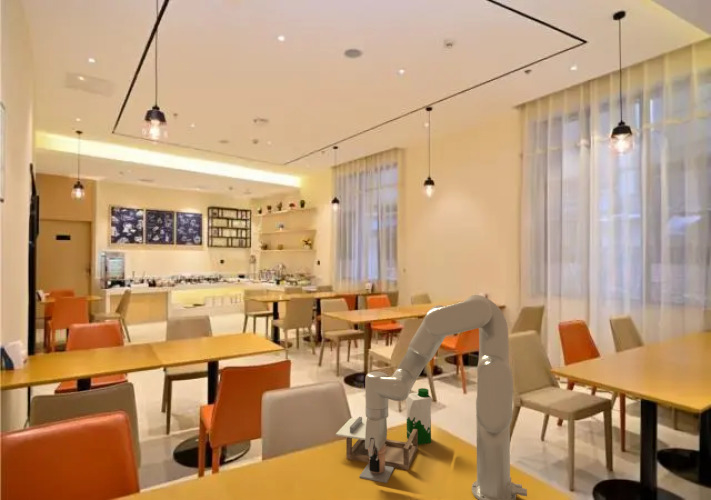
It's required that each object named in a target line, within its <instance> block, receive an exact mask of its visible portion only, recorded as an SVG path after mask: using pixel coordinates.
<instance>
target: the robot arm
mask: <svg viewBox="0 0 711 500" xmlns="http://www.w3.org/2000/svg"><path fill="white" fill-rule="evenodd" d="M507 323H508V322H507V319H506V318H505V315H504V313H503V311H502V309H500V307H499V306H498V305H497V304H496V303H495V302H493V301H492V300H491V299H489V298H488V297H486V296H483V295H481V294H473V295H471V296H468V297H467V298H466V299H465V300H463V301H459V302H457V303H453V304H448V305H442V304H438V305H434V306H432V307H431V308H430V309H429V310H427V312H426V314H425V316H424V318H423V319H422V321H421V324H420V325H419V327H418V328H417V330H416V332H415V334H414V335H413V337H412V338H411V340H410V342H409V343H408V347H407V350H406V352H405V354H404V356H403V358H402V360H401V361H400V363H399V364H398V367H397V368H396V370H395V371H394V373H393V374H392V375H391V376H388V375H387V373H385V372H382V371H370V372H368V373H366V375H365V381H364V384H365V388H364V389H365V392H364V393H365V417H366V420H367V421H366V432H365V449H368V448H369V453H368V455H369V459H370V471H372V472H377V473H379V471H380V459H378V458H379V450H380V449H381V448H382V446H383V445H385V444H384V443H385V442H386V439H388V423H387V420H388V419H387V418H389V400H392V401H396V402H402V401H406V398H407V397H408V395H409V394H411V391H412V389H413V386H414V385H415V383H416V381H417V380H418V378H419V376H420V375H421V373H422V371H423V370H424V368H425V367H426V365H427V364H428V363H429V362H430V361H432V359H433V358H434V357H435V355H436V353H437V352H438V350H439V348H440V347H441V345H442V343H443V342H444V340H445V339H446V337H447V336H451V335H457V334H459V333H460V334H461V333H464V332H468V331H472V330H475V329H478V344H479V345H478V347H479V349H478V362H477V367H476V373H477V375H476V378H477V380H476V381H477V382H476V385H477V386H476V398H475V413H476V414H475V419H476V421H475V422H476V480H475V481H474V482H473V483H472V484H471V492H472V494H473V496H474V497H475V498H476V499H477V500H516V499H517V495H520V496H523V497H528V491H527V490H528V489H527V488H524V487H523V485H522V484H520V483H514V482H513V481H512V477H511V453H510V452H511V451H510V450H511V447H510V446H511V443H510V442H511V439H510V438H511V436H510V435H511V434H510V433H511V431H510V425H511V423H512V419H513V404H514V403H513V402H514V401H513V399H514V397H513V396H514V395H513V394H514V375H513V372H512V369H511V365H510V357H509V355H510V350H509V346H510V345H509V327H508V324H507ZM374 447H376V448H377V449H374ZM374 451H375V452H376V454H374Z"/></svg>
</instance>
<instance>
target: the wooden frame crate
mask: <svg viewBox="0 0 711 500" xmlns="http://www.w3.org/2000/svg"><path fill="white" fill-rule="evenodd" d="M345 439H346V442H345V443H346V445H345V446H346V459H347V460H351V461H358V462H364V463H367V464H368V463H369V455H368V453H369V452H368V449H365V440H361V439H356V440H357V441H356V442H355V443H354V444H353V438H349V437H346V438H345ZM412 441H413V443H412ZM384 444H385V446H386V452H385V466H390V467H394V469H395V468H396V469H401V470H407V471H408V470H409V469H410V466H411V464H412V462H413V460H414V457H415V455H416V452H417V451H418V446H419V445H418V429H413V431H412V433H411V435H410V436H409V438H408V439H407V440H406V442H405V441H400V440H393V439H388V438H387V439H386V442H385V443H384Z"/></svg>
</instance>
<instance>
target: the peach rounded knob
mask: <svg viewBox="0 0 711 500" xmlns="http://www.w3.org/2000/svg"><path fill="white" fill-rule="evenodd" d="M374 449H377V448H376V447H374ZM368 452H369V448H368ZM385 452H386V446H385V445H383V446H382V448H381V449H380V450H379V458H378V459H380V471H379V473H382V472H384V471H385ZM374 454H376V452H375V451H374ZM369 470H370V459H369ZM371 472H372V471H371ZM373 473H377V472H373Z"/></svg>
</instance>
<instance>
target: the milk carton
mask: <svg viewBox="0 0 711 500" xmlns="http://www.w3.org/2000/svg"><path fill="white" fill-rule="evenodd" d="M432 401H433V398H432V396H430V394H429V389H428V388H425V387H424V388H423V387H421V388H418V390H417V392H410V393H409V395H408V397H407V398H406V399H405V404H406V410H405V411H406V438H407V440H408V438H409V436H410V435H411V433H412V431H413V429H418V446H419V445H425V444H426V445H427V444H432V410H431V409H432ZM412 443H413V441H412Z"/></svg>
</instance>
